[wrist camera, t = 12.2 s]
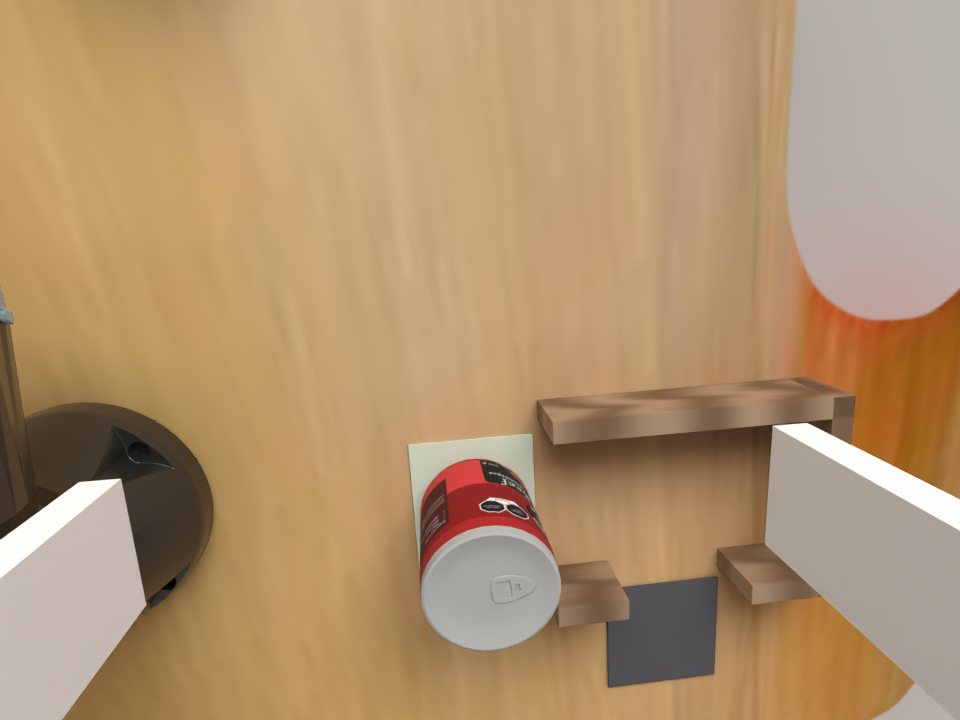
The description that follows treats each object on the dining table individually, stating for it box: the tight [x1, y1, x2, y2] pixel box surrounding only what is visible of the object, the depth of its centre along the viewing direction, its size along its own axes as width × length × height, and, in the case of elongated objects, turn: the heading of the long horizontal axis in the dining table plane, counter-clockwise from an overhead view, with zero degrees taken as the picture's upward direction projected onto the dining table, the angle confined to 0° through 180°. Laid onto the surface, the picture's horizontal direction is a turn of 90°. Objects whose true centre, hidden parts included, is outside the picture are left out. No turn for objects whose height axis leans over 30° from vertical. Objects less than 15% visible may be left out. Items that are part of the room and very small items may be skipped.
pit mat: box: [608, 577, 718, 687], centre depth 47 cm, size 9×9×1 cm
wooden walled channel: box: [538, 377, 856, 627], centre depth 42 cm, size 20×15×5 cm
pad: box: [408, 434, 535, 570], centre depth 43 cm, size 9×10×1 cm
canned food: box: [420, 459, 561, 652], centre depth 38 cm, size 8×8×11 cm
